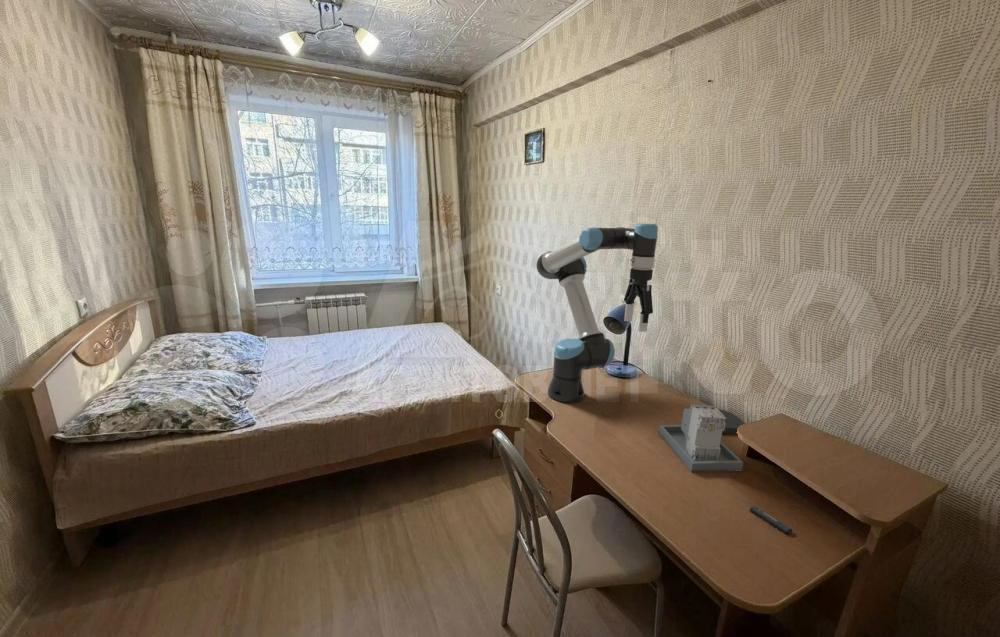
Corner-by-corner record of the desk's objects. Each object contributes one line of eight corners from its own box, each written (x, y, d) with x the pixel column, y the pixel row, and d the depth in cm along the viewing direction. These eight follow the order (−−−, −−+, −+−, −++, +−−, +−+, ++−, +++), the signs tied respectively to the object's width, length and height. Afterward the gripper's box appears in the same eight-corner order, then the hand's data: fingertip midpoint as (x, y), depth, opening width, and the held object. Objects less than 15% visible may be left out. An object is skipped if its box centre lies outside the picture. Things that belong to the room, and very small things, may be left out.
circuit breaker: (699, 436, 140) (706, 397, 136) (718, 461, 126) (726, 418, 122) (677, 435, 140) (683, 395, 136) (693, 460, 126) (700, 416, 123)
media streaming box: (708, 434, 144) (710, 426, 143) (689, 414, 158) (690, 407, 157) (749, 435, 144) (751, 427, 143) (726, 415, 158) (728, 408, 157)
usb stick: (792, 533, 100) (794, 528, 99) (787, 537, 99) (788, 532, 98) (754, 509, 108) (755, 504, 107) (748, 512, 107) (749, 507, 106)
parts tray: (658, 433, 143) (659, 425, 142) (701, 432, 144) (703, 424, 143) (691, 472, 122) (692, 463, 121) (741, 470, 123) (743, 462, 122)
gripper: (618, 263, 155) (613, 317, 161) (646, 273, 131) (638, 336, 137) (637, 263, 156) (631, 317, 161) (668, 274, 132) (660, 336, 137)
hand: (635, 326), depth 149 cm, fingers open, 13 cm apart
